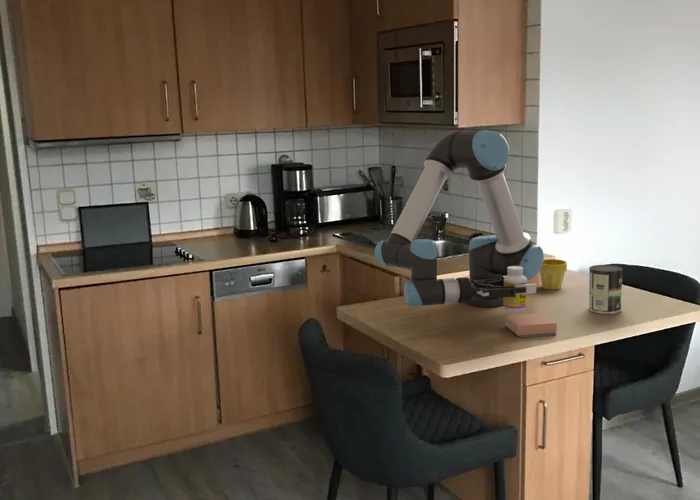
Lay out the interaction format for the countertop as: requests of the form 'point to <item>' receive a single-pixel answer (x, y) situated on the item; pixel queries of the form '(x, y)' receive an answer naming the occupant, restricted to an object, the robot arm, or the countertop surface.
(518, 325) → the pink flat block
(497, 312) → the countertop surface
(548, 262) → the plant pot
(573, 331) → the countertop surface
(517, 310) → the supplement bottle
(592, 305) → the coffee can
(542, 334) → the mat
